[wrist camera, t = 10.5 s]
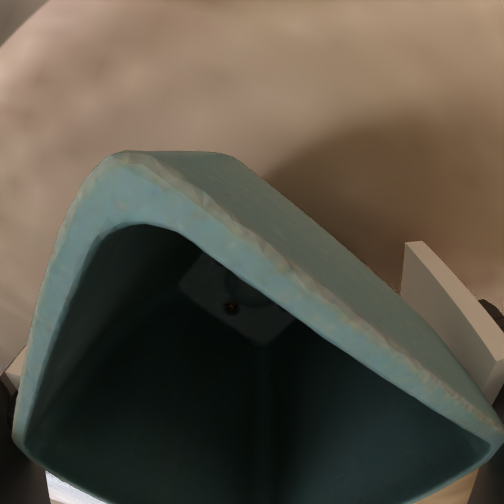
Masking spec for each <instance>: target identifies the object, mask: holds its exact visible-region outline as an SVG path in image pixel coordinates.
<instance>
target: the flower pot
mask: <svg viewBox="0 0 504 504" xmlns="http://www.w3.org/2000/svg"><path fill="white" fill-rule="evenodd" d="M227 302H234V303H236V304H237V306H238V308H237V310H235V311H229V310H228V309H226V307H225V304H226V303H227ZM11 437H12V440H13V442H14V443H15V445H16V446H17V447H18V448H19V449H20V450H21V451H22V452H23V453H24V454H25V455H26V456H27V457H28V458H29V459H30V460H31V461H33V462H34V463H36V464H37V465H39V466H40V467H42V468H43V469H45V470H47V471H48V472H50V473H51V474H53V475H54V476H56V477H57V478H59V479H60V480H61V481H64V482H66V483H68V484H69V485H71V486H73V487H75V488H77V489H79V490H80V491H82V492H84V493H87V494H89V495H91V496H92V497H94V498H96V499H98V500H100V501H103V502H105V503H107V504H414V503H416V502H418V501H420V500H422V499H424V498H426V497H428V496H430V495H432V494H434V493H436V492H438V491H440V490H442V489H444V488H445V487H447V486H449V485H451V484H452V483H454V482H456V481H457V480H459V479H461V478H463V477H464V476H466V475H468V474H470V473H471V472H473V471H474V470H476V469H477V468H479V467H480V466H482V465H483V464H484V463H486V462H487V461H489V460H490V459H491V457H492V456H493V455H494V454H495V453H496V451H497V450H498V449H499V448H500V446H501V445H502V444H503V443H504V424H503V422H502V421H501V419H500V418H499V416H498V415H497V413H496V412H495V410H494V409H493V407H492V406H491V405H490V403H489V402H488V400H487V399H486V398H485V396H484V395H483V393H482V392H481V391H480V389H479V388H478V386H477V385H476V383H475V382H474V381H473V379H472V378H471V377H470V375H469V374H468V373H467V371H466V370H465V369H464V368H463V366H462V365H461V364H460V362H459V361H458V360H457V358H456V357H455V356H454V355H453V353H452V352H451V351H450V349H449V348H448V347H447V346H446V344H445V343H444V342H443V341H442V339H441V338H440V337H439V336H438V334H437V333H436V332H435V331H434V330H433V328H432V327H431V326H430V325H429V324H428V323H427V322H426V320H425V319H424V318H423V317H422V316H421V315H420V314H419V313H418V312H417V311H415V310H414V309H413V308H412V307H411V306H410V305H409V304H408V303H407V302H406V301H405V300H404V299H403V298H401V297H400V296H399V295H398V294H397V293H396V292H395V291H394V290H393V289H392V288H391V287H389V286H388V285H387V284H386V283H385V282H384V281H383V280H382V279H381V278H379V277H378V276H377V275H376V274H375V273H374V272H373V271H372V270H370V269H369V268H368V267H367V266H366V265H365V264H364V263H363V262H361V261H360V260H359V259H358V258H357V257H356V256H354V255H353V254H352V253H351V252H350V251H349V250H348V249H346V248H345V247H344V246H343V245H342V244H341V243H340V242H338V241H337V240H336V239H335V238H334V237H333V236H331V235H330V234H329V233H328V232H327V231H325V230H324V229H323V228H322V227H321V226H320V225H318V224H317V223H316V222H315V221H314V220H312V219H311V218H310V217H309V216H308V215H306V214H305V213H304V212H303V211H301V210H300V209H299V208H298V207H297V206H295V205H294V204H293V203H292V202H290V201H289V200H288V199H287V198H286V197H284V196H283V195H282V194H281V193H279V192H278V191H277V190H276V189H274V188H273V187H272V186H271V185H269V184H268V183H267V182H266V181H264V180H263V179H262V178H261V177H259V176H258V175H257V174H256V173H254V172H253V171H252V170H251V169H249V168H248V167H247V166H246V165H244V164H243V163H242V162H240V161H239V160H237V159H236V158H234V157H232V156H229V155H226V154H222V153H214V152H197V151H126V150H125V151H122V152H119V153H115V154H112V155H109V156H107V157H106V158H105V159H104V160H103V161H102V162H101V163H100V164H99V165H97V166H96V167H95V168H94V169H93V171H92V172H91V173H90V174H89V175H88V177H87V178H86V179H85V180H84V182H83V183H82V185H81V187H80V189H79V191H78V193H77V195H76V197H75V199H74V200H73V202H72V203H71V205H70V206H69V208H68V212H67V215H66V218H65V219H64V221H63V223H62V225H61V227H60V229H59V231H58V237H57V239H56V242H55V244H54V247H53V251H52V255H51V257H50V259H49V262H48V265H47V269H46V272H45V277H44V279H43V281H42V284H41V287H40V292H39V295H38V299H37V302H36V306H35V312H34V315H33V320H32V324H31V329H30V333H29V338H28V340H27V348H26V350H25V358H24V362H23V366H22V373H21V377H20V386H19V390H18V396H17V399H16V407H15V413H14V420H13V428H12V435H11Z"/></svg>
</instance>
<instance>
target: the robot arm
mask: <svg viewBox="0 0 504 504" xmlns="http://www.w3.org/2000/svg"><path fill="white" fill-rule="evenodd" d="M400 297H401V298H403V299H404V300H405V301H406V302H407V303H408V304H409V305H410V306H411V307H412V308H413V309H414V310H415V311H417V312H418V313H419V314H420V315H421V316H422V317H423V318H424V319H425V320H426V322H427V323H428V324H429V325H430V326H431V327H432V328H433V330H434V331H435V332H436V333H437V334H438V336H439V337H440V338H441V339H442V341H443V342H444V343H445V344H446V346H447V347H448V348H449V349H450V351H451V352H452V353H453V355H454V356H455V357H456V358H457V360H458V361H459V362H460V364H461V365H462V366H463V368H464V369H465V370H466V371H467V373H468V374H469V375H470V377H471V378H472V379H473V381H474V382H475V383H476V385H477V386H478V388H479V389H480V391H481V392H482V393H483V395H484V396H485V398H486V399H487V400H488V402H489V403H490V405H491V406H492V407H493V409H494V410H495V412H496V413H497V415H498V416H499V418H500V419H501V421H502V422H503V424H504V316H503V315H502V313H501V312H500V311H499V310H498V309H497V308H496V307H495V306H494V305H492V304H491V303H489V302H488V301H486V300H484V299H482V300H477V299H476V298H475V297H474V296H473V295H472V294H471V292H470V291H469V290H468V289H467V288H466V287H465V286H464V284H463V283H462V282H461V281H460V280H459V279H458V278H457V277H456V275H455V274H454V273H453V272H452V271H451V270H450V269H449V268H448V267H447V266H446V265H445V264H444V263H443V261H442V260H441V259H440V258H439V257H438V256H437V255H436V254H435V253H434V252H433V251H432V250H431V249H430V248H429V247H428V246H427V245H426V244H425V243H424V242H423V241H414V242H405V249H404V261H403V272H402V281H401V290H400ZM26 348H27V345H26V346H25V347H24V348H23V349H22V350H21V353H19V354H18V355H17V357H16V358H15V359H14V360H13V361H12V363H11V364H10V365H9V366H8V368H7V369H6V370H5V371H4V373H3V374H2V375H1V377H0V504H51V503H50V498H49V492H48V486H47V480H46V473H45V469H43V468H42V467H40V466H39V465H37V464H36V463H34V462H33V461H31V460H30V459H29V458H28V457H27V456H26V455H25V454H24V453H23V452H22V451H21V450H20V449H19V448H18V447H17V446H16V445H15V443H14V442H13V440H12V437H11V435H12V428H13V420H14V413H15V407H16V399H17V396H18V390H19V386H20V377H21V373H22V366H23V362H24V358H25V350H26ZM467 504H504V443H503V444H502V445H501V446H500V448H499V449H498V450H497V451H496V453H495V454H494V455H493V456H492V457H491V459H490V460H489V461H487V462H486V463H484V464H483V465H482V466H480V467H479V470H478V473H477V476H476V479H475V482H474V485H473V488H472V491H471V494H470V497H469V500H468V502H467Z"/></svg>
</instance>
